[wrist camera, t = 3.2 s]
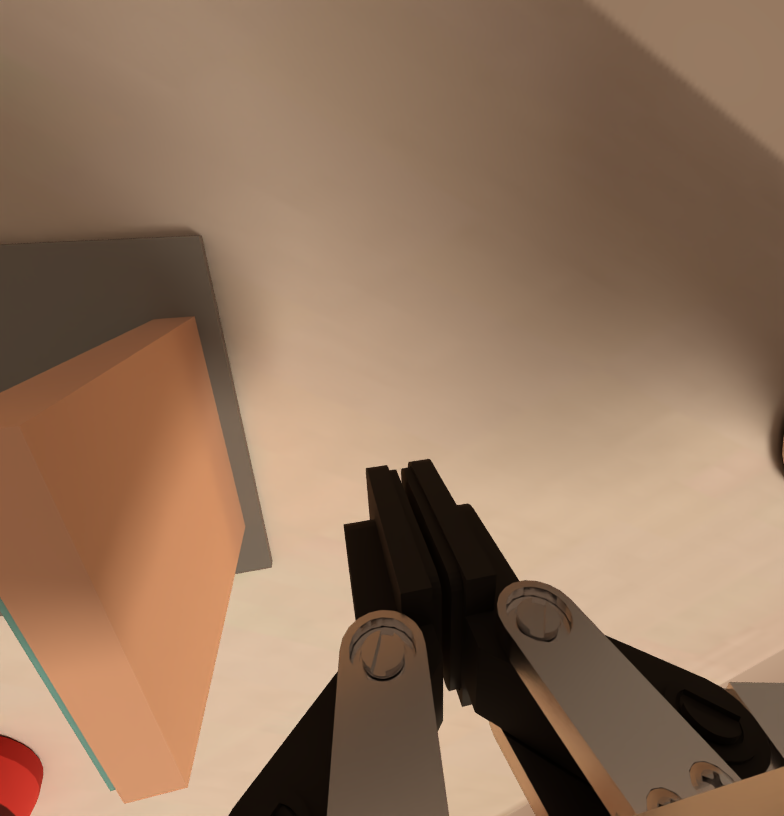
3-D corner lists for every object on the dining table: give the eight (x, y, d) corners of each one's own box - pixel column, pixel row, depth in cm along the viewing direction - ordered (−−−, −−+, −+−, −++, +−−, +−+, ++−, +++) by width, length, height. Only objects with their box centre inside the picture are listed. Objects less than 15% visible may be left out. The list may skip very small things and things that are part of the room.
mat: (201, 235, 13) (186, 234, 11) (272, 561, 18) (269, 591, 17) (-297, 258, 11) (-404, 260, 9) (-49, 618, 16) (-89, 659, 15)
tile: (194, 316, 13) (18, 425, 5) (245, 526, 17) (187, 787, 9) (143, 320, 13) (-123, 441, 5) (206, 532, 17) (109, 807, 9)
